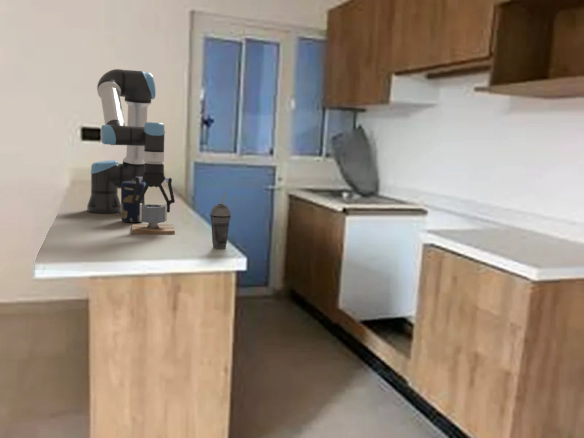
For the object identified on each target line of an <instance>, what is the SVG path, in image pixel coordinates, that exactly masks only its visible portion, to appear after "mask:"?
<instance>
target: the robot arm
mask: <svg viewBox="0 0 584 438" xmlns="http://www.w3.org/2000/svg"><path fill="white" fill-rule="evenodd" d="M96 89H97V91H96V92H97V95H98V97H99V98H100V100H101V106H102V113H103V121H104V124H103V125H101V127H100V138H101V139H100V140H101V141H100V142H101V144H103V145H111V146H126V154H125V157H124V158H123V159H122V163H119V162H118V160H116V159H113V160H111V159H110V160H101V161H100V160H99V161H95V162H92V164H91V166H90V169H91V170H90V178H91V179H90V181H91V182H90V183H91V184H90V192H91V193H90V197H89V200H88V203H87V206H86V208H87V209H86V210H87V212H89V213H94V214H114V213H115V214H116V213H121V199H120V198H119V194H118V192H119V190H121V183H122V182H124V181H132V179H133V180H134V181H136V185H135V190H134V194H133V198H132V202H134V203H136V204H137V212H140V221H141V222H142V203H140V202H141V200H142V198H143V196H144V197H145V195H146V192H147V190H148V189H149V187H150V188H153V187H155V188H159V190H160V192H161V195H162V196H163V198H164V200H165V202H166V203H164V205H165V222H168V221H167V220H168V213H170V212H171V205H172V204H174V203H175V201H176V200H175V195H174V190H173V188H172V187H173V186H172V185H173V184H172V182H173V179H172V178H171V177H166V176H165V164H164V162H165V134H166V131H165V130H166V129H165V124H164V123H163V122H149V121H148V107H149V105H151V104H152V100H155V99H156V91H157V90H156V83H155V79H154V76H153V74H152V73H151V72H149V71H143V70H132V69H131V70H130V69H120V68H117V69H115V68H114V69H111V70H109V71H107V72H106V73H104V74H103V75H102V76H101V77H100V78H99V80H98V82H97V85H96ZM121 97H123V98H124V102H125V103H126V104H127V121H126V122H127V124H126V122H125V117H124V113H123V106H122V102H121ZM164 181H165V183H166V184H167V186H168V191H169V196H170V197H169V198H170V199H169V198H168V195H167V194H166V191H165V189H164V188H163V185H162V184H163V183H164ZM139 182H143V183H144V189H143V191H142V193H141V194H140V196H139V198H138V200H136V196H137V192H138V187H139ZM118 189H119V190H118Z"/></svg>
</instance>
